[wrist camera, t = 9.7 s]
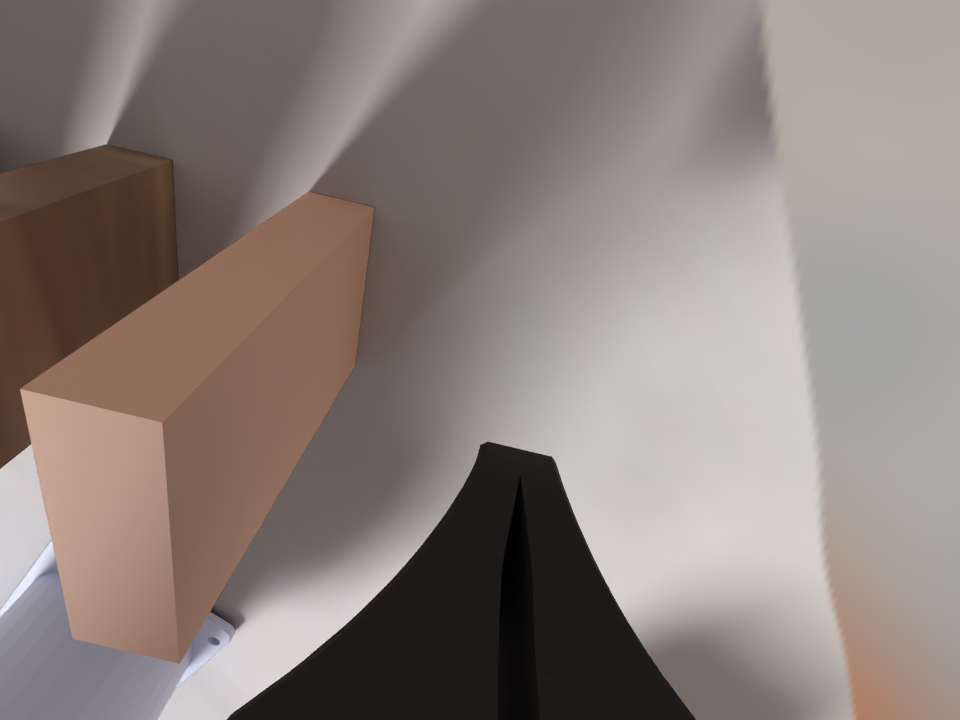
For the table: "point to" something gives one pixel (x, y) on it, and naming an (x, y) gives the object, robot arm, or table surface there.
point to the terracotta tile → (194, 423)
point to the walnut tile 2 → (76, 261)
